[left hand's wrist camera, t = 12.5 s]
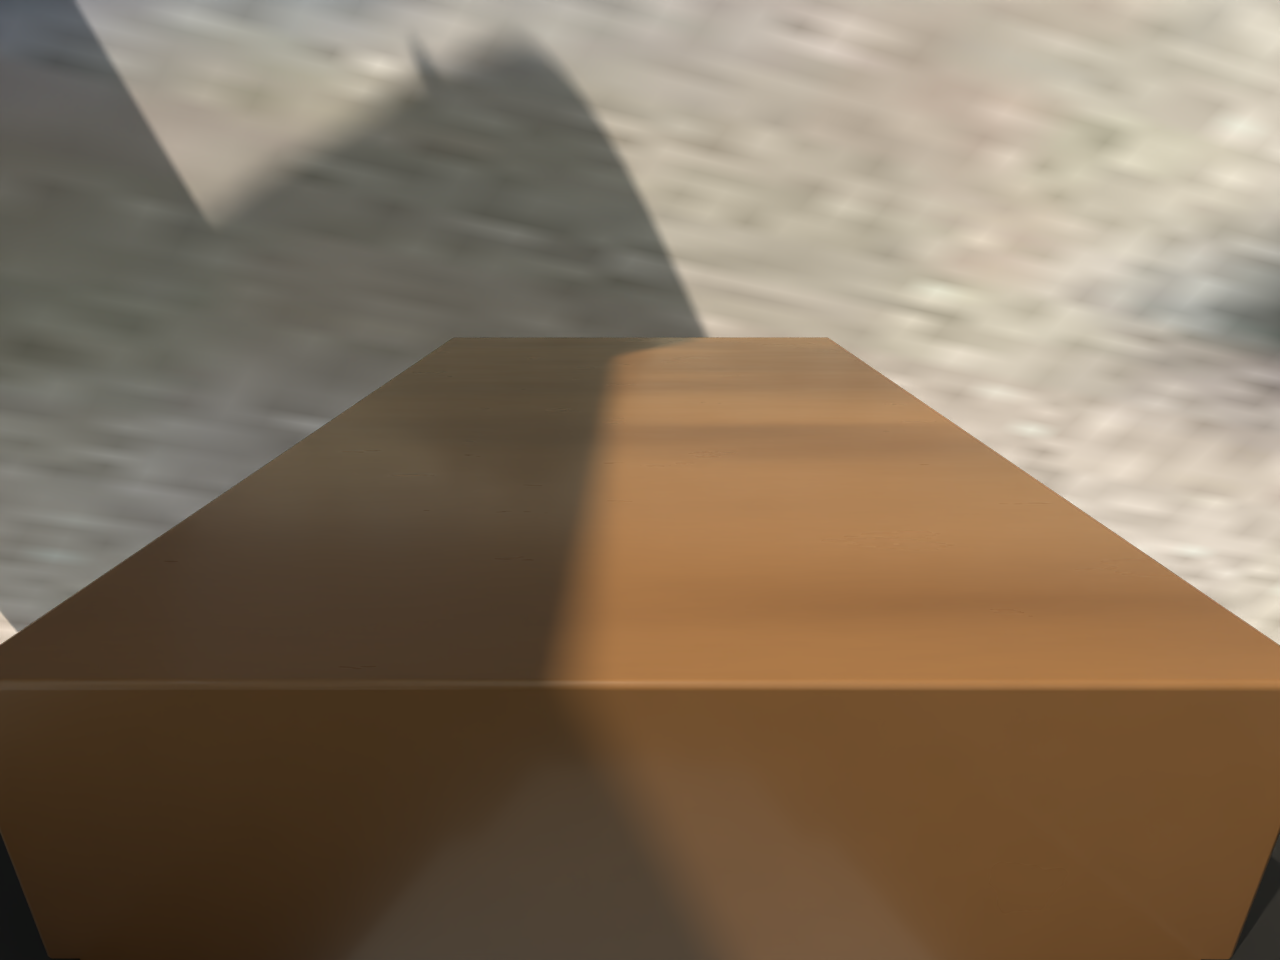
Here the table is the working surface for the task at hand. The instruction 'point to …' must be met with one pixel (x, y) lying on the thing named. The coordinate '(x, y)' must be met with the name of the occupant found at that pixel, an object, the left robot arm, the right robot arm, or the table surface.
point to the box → (640, 690)
